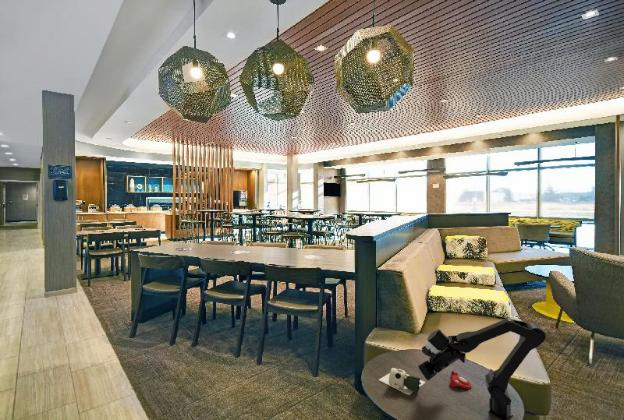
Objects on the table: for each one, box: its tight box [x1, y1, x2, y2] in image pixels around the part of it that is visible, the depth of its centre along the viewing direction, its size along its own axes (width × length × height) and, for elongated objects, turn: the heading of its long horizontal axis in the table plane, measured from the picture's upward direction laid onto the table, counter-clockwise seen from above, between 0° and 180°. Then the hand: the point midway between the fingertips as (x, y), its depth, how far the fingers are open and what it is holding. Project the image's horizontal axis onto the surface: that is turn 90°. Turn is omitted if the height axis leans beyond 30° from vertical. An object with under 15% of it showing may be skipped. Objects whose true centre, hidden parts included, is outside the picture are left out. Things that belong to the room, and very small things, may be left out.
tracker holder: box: [449, 370, 472, 390], centre depth 149 cm, size 12×4×10 cm
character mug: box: [389, 367, 421, 394], centre depth 145 cm, size 11×7×13 cm
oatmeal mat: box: [378, 372, 426, 396], centre depth 151 cm, size 16×14×1 cm
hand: (422, 373), depth 143 cm, fingers closed
